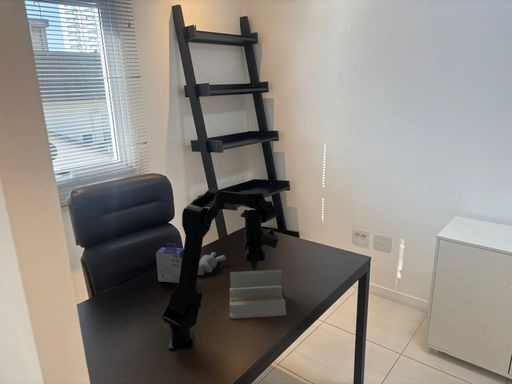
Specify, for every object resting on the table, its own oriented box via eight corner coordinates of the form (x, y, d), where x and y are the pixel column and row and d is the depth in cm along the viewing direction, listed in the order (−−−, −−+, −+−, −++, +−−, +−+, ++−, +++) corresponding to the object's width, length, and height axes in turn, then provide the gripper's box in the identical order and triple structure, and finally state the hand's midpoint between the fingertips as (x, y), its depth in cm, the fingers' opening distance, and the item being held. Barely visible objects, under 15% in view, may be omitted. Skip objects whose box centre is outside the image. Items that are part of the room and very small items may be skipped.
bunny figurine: (184, 264, 148) (210, 247, 159) (187, 275, 150) (212, 257, 161) (202, 270, 142) (227, 252, 153) (204, 281, 144) (228, 263, 155)
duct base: (286, 315, 119) (286, 305, 118) (230, 318, 118) (229, 309, 117) (280, 289, 135) (279, 280, 134) (230, 292, 134) (229, 283, 133)
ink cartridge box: (187, 276, 146) (185, 242, 142) (182, 283, 140) (179, 248, 137) (164, 274, 148) (160, 241, 144) (158, 281, 142) (154, 246, 139)
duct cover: (282, 272, 122) (281, 269, 123) (230, 275, 121) (229, 272, 122) (279, 285, 130) (279, 283, 130) (231, 288, 129) (231, 285, 130)
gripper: (280, 236, 119) (280, 280, 123) (273, 217, 137) (274, 256, 141) (245, 237, 118) (246, 282, 123) (243, 218, 136) (244, 257, 141)
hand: (254, 268), depth 132 cm, fingers closed
